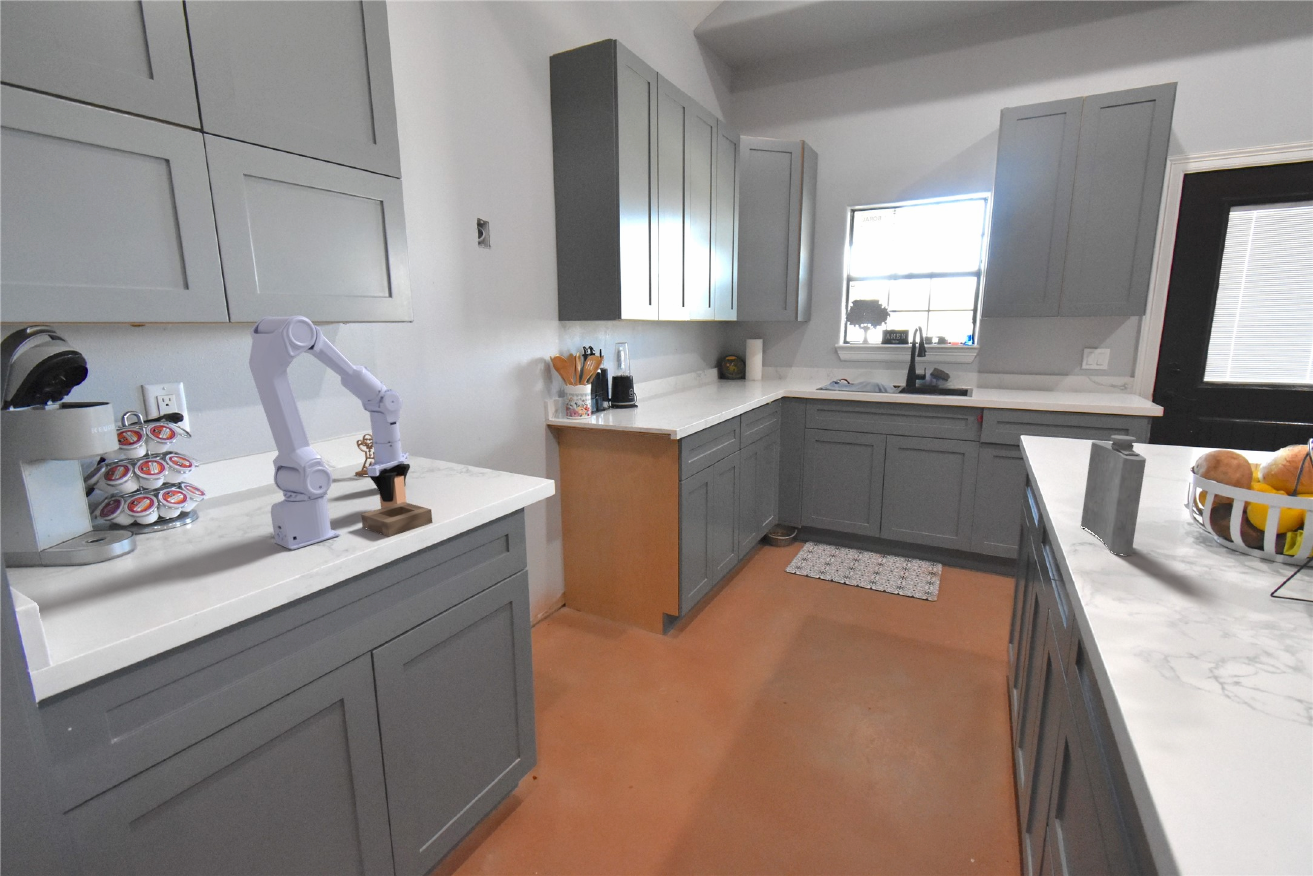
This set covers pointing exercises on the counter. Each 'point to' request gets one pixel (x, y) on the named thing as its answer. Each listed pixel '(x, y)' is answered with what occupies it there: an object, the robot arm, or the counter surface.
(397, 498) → the peg
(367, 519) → the socket block
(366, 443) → the gingerbread man figurine
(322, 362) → the robot arm
